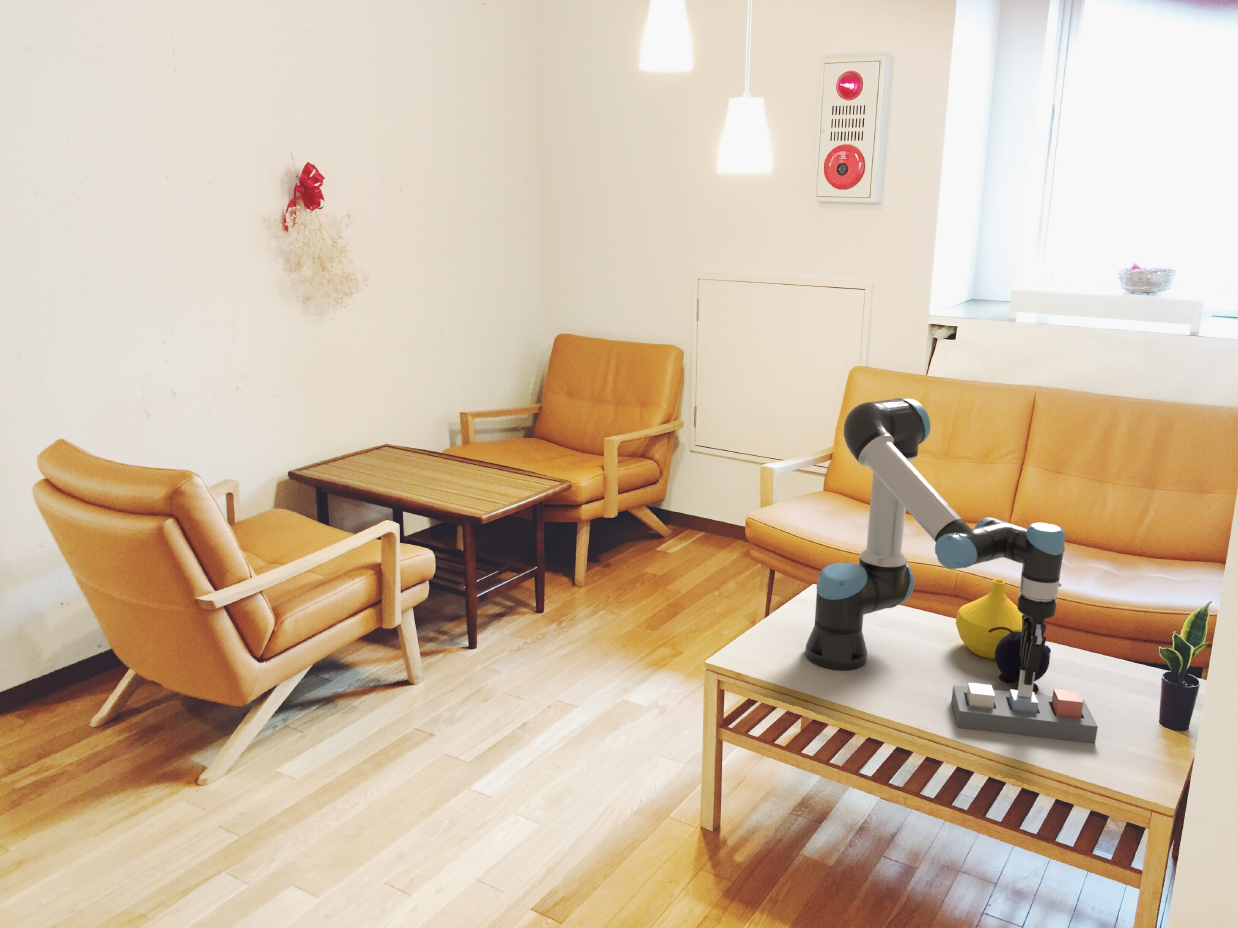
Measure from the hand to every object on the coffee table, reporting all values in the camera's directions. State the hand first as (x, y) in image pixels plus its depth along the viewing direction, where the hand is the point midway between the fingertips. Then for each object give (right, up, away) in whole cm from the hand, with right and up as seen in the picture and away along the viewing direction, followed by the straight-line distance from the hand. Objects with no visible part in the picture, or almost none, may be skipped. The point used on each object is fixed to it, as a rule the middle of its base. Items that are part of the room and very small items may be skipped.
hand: (1024, 695), depth 215 cm
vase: (+6, +3, +36) cm, 37 cm away
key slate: (0, -4, +1) cm, 4 cm away
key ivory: (-9, -3, +3) cm, 10 cm away
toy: (+5, -2, +18) cm, 19 cm away
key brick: (+9, -3, -1) cm, 9 cm away
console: (0, -6, +2) cm, 7 cm away
